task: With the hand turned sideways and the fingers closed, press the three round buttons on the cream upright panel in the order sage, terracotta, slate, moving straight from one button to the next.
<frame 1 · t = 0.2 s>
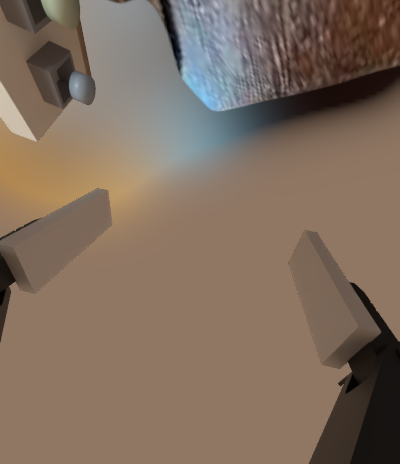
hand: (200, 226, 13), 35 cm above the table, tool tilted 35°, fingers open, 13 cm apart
slate button: (82, 88, 31), point 12 cm above the table, slide at 0.0 cm
sage button: (61, 1, 22), point 12 cm above the table, slide at 0.0 cm
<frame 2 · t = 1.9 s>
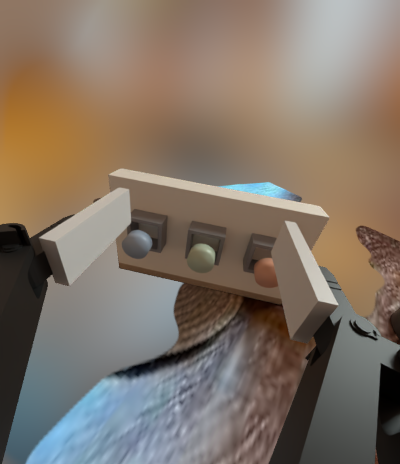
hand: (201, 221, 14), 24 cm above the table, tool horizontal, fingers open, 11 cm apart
slate button: (137, 244, 30), point 12 cm above the table, slide at 0.0 cm
sage button: (201, 258, 29), point 12 cm above the table, slide at 0.0 cm
button panel: (199, 278, 42), on the table
terracotta button: (268, 272, 29), point 12 cm above the table, slide at 0.0 cm
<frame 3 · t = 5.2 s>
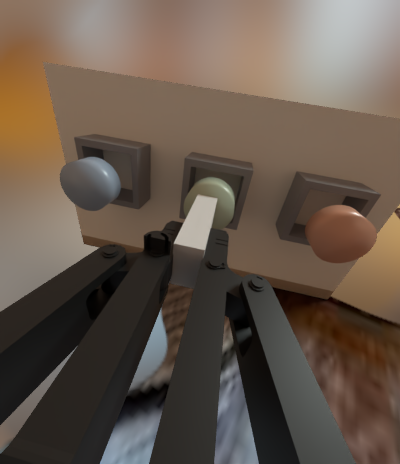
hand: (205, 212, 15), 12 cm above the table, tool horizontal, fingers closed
slate button: (91, 184, 16), point 12 cm above the table, slide at 0.0 cm
sage button: (210, 204, 16), point 12 cm above the table, slide at 0.7 cm, touching gripper
button panel: (202, 261, 28), on the table
terracotta button: (337, 234, 15), point 12 cm above the table, slide at 0.0 cm
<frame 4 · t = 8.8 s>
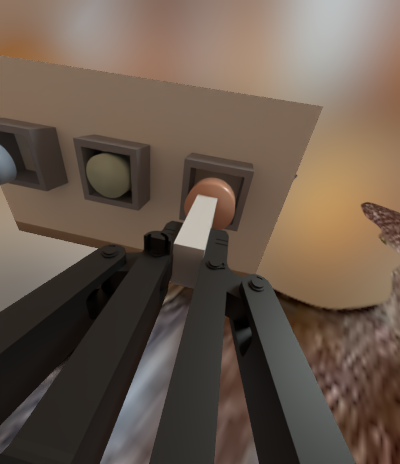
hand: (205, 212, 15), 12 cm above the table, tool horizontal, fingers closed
sage button: (112, 174, 19), point 12 cm above the table, slide at 3.3 cm
button panel: (136, 247, 29), on the table
terracotta button: (210, 205, 16), point 12 cm above the table, slide at 0.9 cm, touching gripper
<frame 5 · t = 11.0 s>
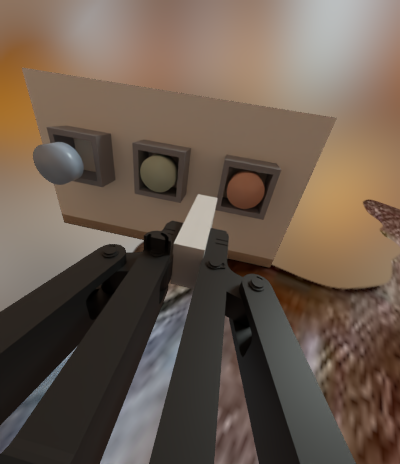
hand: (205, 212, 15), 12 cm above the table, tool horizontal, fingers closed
slate button: (59, 163, 21), point 12 cm above the table, slide at 0.0 cm
sage button: (160, 172, 23), point 12 cm above the table, slide at 3.3 cm
button panel: (166, 237, 33), on the table
terracotta button: (245, 189, 22), point 12 cm above the table, slide at 3.4 cm
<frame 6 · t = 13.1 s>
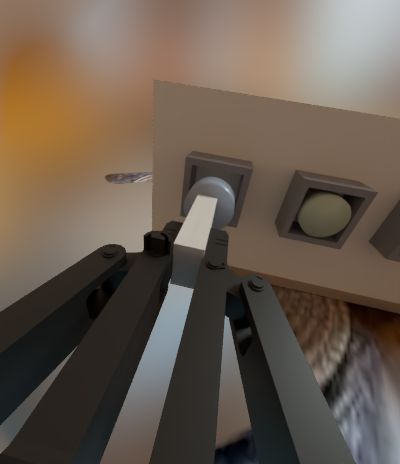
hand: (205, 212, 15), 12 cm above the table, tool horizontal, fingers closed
slate button: (209, 204, 16), point 12 cm above the table, slide at 0.3 cm, touching gripper
sage button: (320, 213, 18), point 12 cm above the table, slide at 3.3 cm
button panel: (271, 274, 28), on the table
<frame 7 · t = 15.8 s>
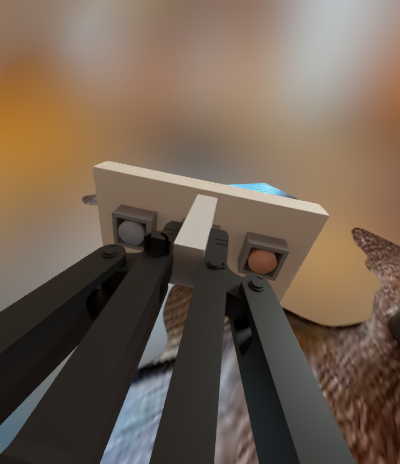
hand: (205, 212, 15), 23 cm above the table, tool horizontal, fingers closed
slate button: (133, 230, 30), point 12 cm above the table, slide at 3.3 cm
button panel: (191, 280, 40), on the table
terracotta button: (261, 258, 29), point 12 cm above the table, slide at 3.4 cm
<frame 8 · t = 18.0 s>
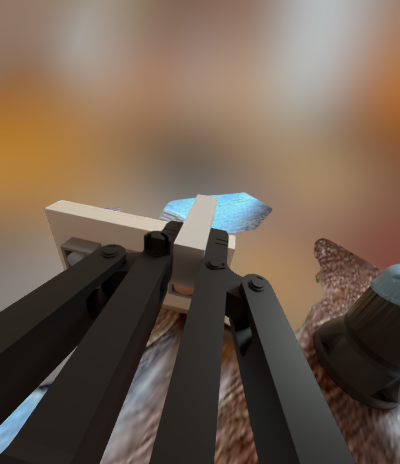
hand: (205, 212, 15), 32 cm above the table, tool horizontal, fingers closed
slate button: (81, 259, 36), point 12 cm above the table, slide at 3.3 cm
button panel: (143, 295, 46), on the table
terracotta button: (185, 282, 35), point 12 cm above the table, slide at 3.4 cm
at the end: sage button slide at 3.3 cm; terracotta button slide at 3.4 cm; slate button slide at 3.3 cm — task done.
